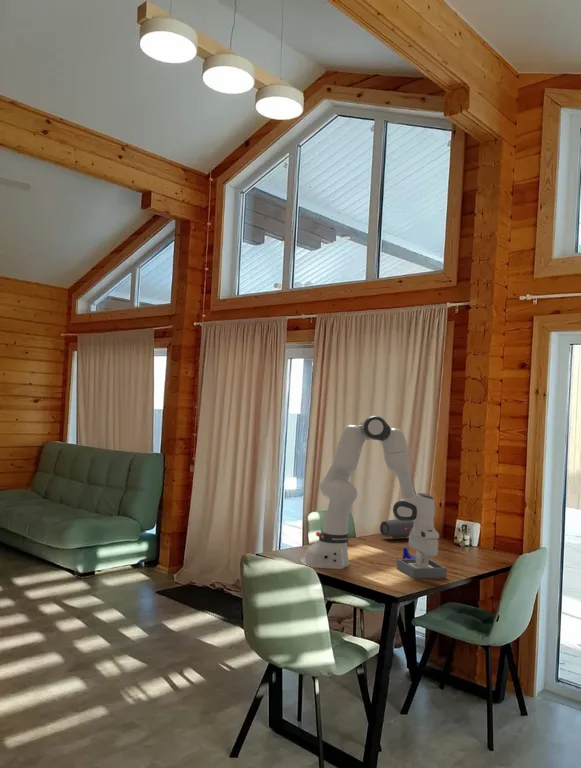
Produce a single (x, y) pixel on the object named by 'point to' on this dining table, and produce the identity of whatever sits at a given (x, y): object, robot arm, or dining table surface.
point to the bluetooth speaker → (396, 528)
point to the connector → (420, 559)
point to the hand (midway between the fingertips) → (421, 561)
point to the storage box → (421, 569)
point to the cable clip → (407, 554)
